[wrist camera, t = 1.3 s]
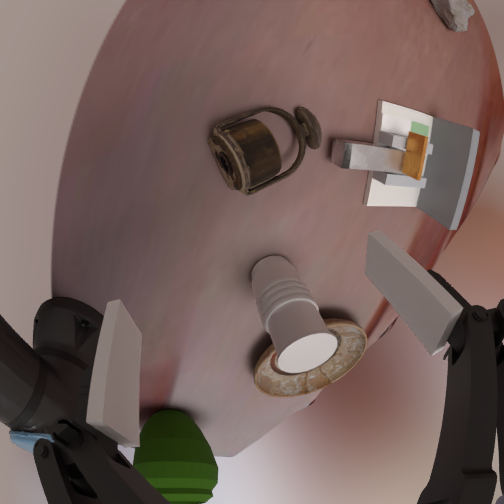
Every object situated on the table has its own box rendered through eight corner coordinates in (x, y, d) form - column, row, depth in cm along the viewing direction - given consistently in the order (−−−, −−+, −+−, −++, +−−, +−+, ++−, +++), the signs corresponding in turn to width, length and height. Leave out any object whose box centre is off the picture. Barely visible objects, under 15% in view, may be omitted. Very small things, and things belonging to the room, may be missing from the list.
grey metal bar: (330, 162, 31) (357, 176, 26) (335, 115, 28) (364, 122, 23) (391, 167, 33) (420, 182, 28) (398, 127, 30) (429, 137, 25)
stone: (453, 38, 24) (479, 39, 19) (414, 4, 21) (440, 0, 16) (456, 7, 20) (480, 6, 15) (418, -26, 17) (442, -32, 12)
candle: (244, 258, 37) (275, 343, 25) (293, 248, 38) (342, 325, 26) (249, 295, 41) (277, 379, 29) (294, 285, 42) (333, 362, 29)
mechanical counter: (204, 93, 21) (206, 202, 24) (341, 100, 22) (341, 199, 26) (207, 108, 28) (209, 192, 31) (316, 110, 29) (316, 191, 32)
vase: (130, 423, 57) (133, 503, 37) (134, 392, 49) (137, 496, 29) (197, 430, 65) (210, 505, 45) (218, 401, 57) (238, 496, 37)
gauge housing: (363, 203, 37) (401, 232, 29) (378, 100, 29) (425, 108, 21) (419, 204, 39) (456, 229, 32) (436, 118, 31) (479, 131, 24)
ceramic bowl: (255, 390, 57) (260, 408, 53) (240, 325, 44) (246, 348, 40) (349, 362, 60) (357, 377, 55) (365, 290, 47) (379, 308, 43)
